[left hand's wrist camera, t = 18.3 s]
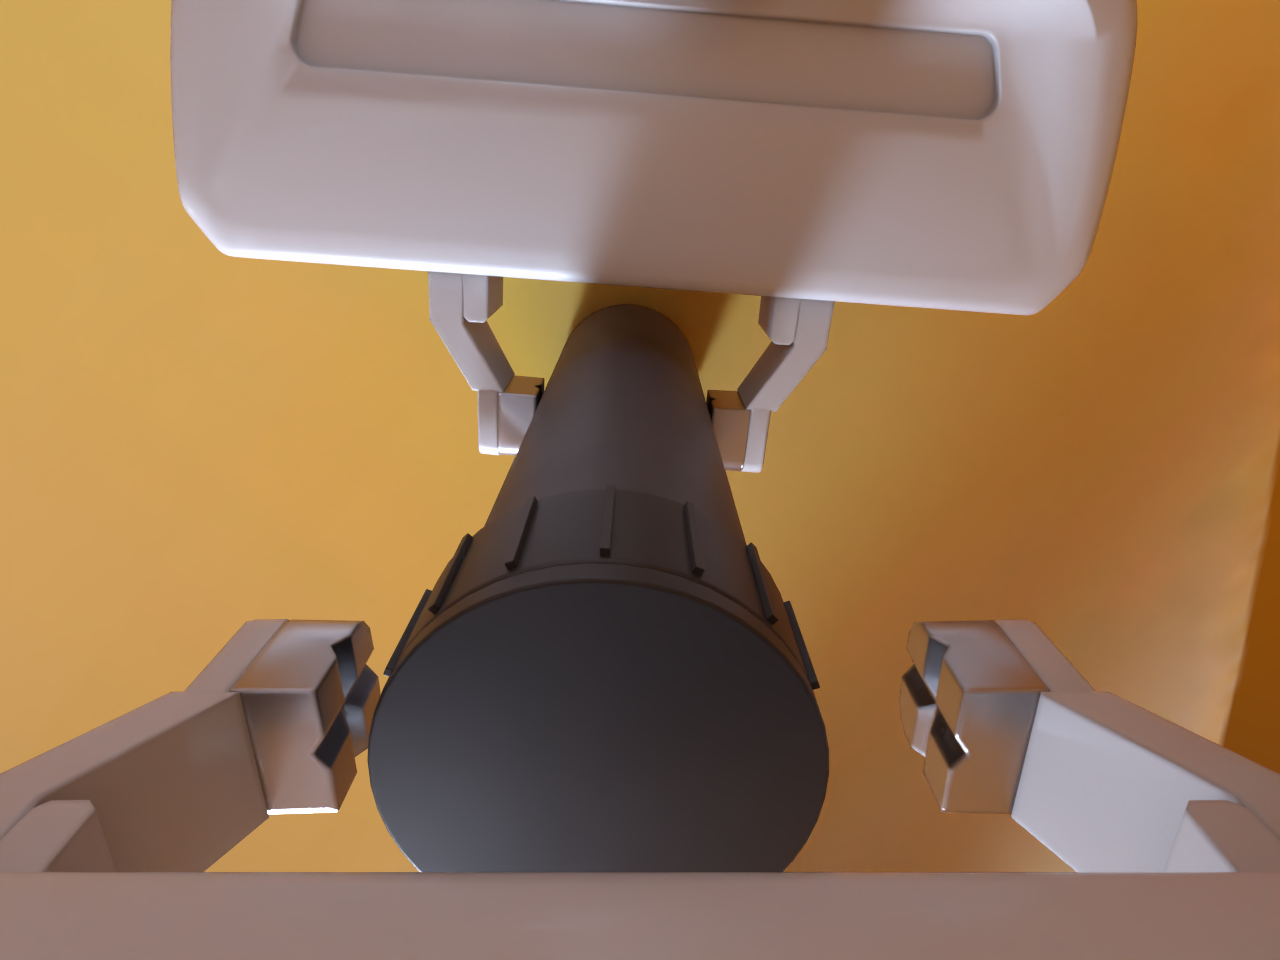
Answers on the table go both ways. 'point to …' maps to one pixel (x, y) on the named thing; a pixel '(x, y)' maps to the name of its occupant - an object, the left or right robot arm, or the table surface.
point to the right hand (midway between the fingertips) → (622, 456)
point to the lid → (600, 700)
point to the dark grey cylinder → (623, 420)
